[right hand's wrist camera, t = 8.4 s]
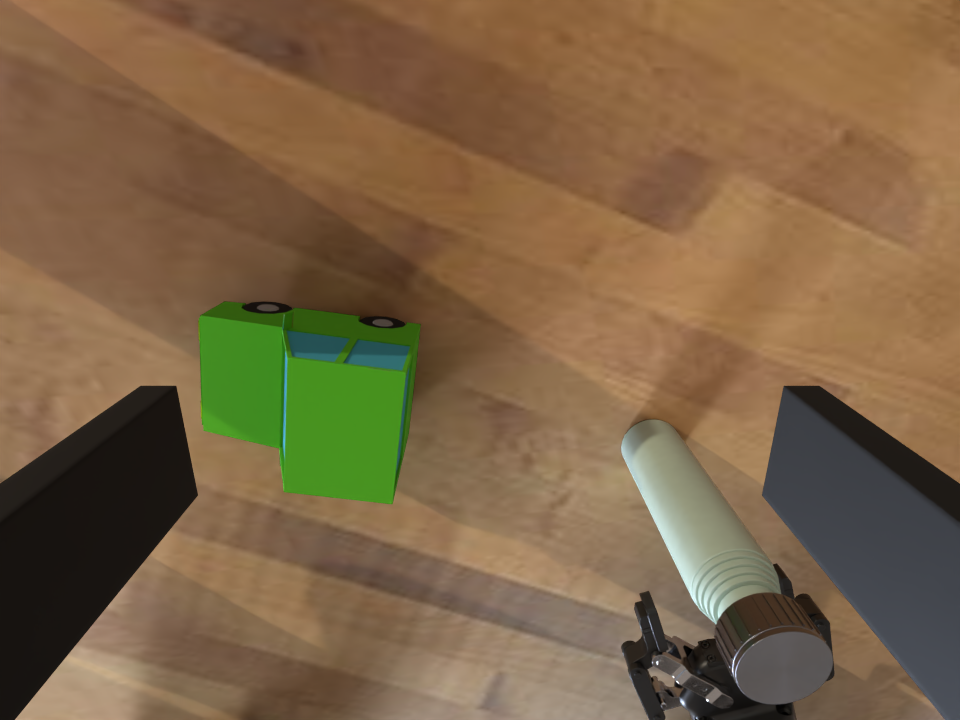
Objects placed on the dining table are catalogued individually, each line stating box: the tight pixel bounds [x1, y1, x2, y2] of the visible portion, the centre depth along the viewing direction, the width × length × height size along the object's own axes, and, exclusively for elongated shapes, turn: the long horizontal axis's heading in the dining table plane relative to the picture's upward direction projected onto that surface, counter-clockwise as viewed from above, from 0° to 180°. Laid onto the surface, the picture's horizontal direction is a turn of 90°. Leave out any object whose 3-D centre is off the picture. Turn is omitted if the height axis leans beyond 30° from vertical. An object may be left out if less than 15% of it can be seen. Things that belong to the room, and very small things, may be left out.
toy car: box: [198, 302, 421, 504], centre depth 35 cm, size 10×13×10 cm
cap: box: [714, 592, 833, 704], centre depth 25 cm, size 4×4×2 cm
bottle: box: [621, 419, 781, 624], centre depth 34 cm, size 4×4×19 cm
